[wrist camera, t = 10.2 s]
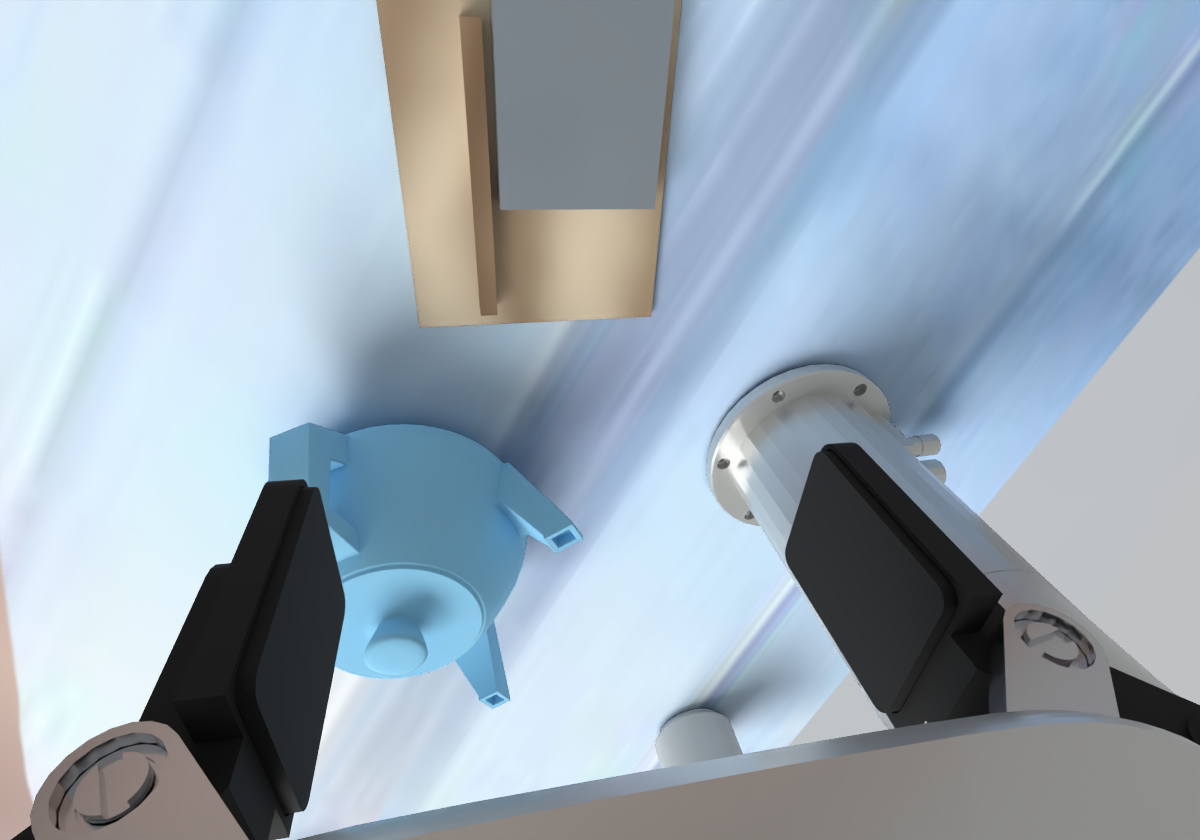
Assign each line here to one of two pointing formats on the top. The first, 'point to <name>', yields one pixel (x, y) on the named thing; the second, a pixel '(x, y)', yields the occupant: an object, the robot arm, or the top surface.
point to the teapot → (421, 544)
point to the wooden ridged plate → (469, 190)
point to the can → (696, 738)
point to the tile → (579, 101)
